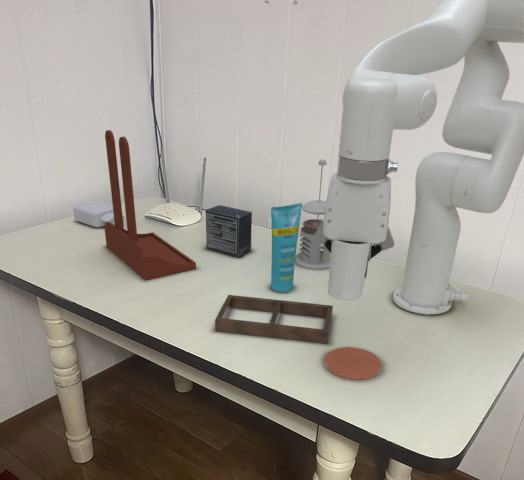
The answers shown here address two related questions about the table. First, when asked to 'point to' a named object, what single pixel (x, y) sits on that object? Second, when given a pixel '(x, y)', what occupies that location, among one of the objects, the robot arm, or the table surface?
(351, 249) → the white cup
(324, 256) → the french press
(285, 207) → the tube
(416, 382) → the table surface
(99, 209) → the charger
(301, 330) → the rack
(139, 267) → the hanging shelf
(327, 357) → the coaster
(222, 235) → the small box
